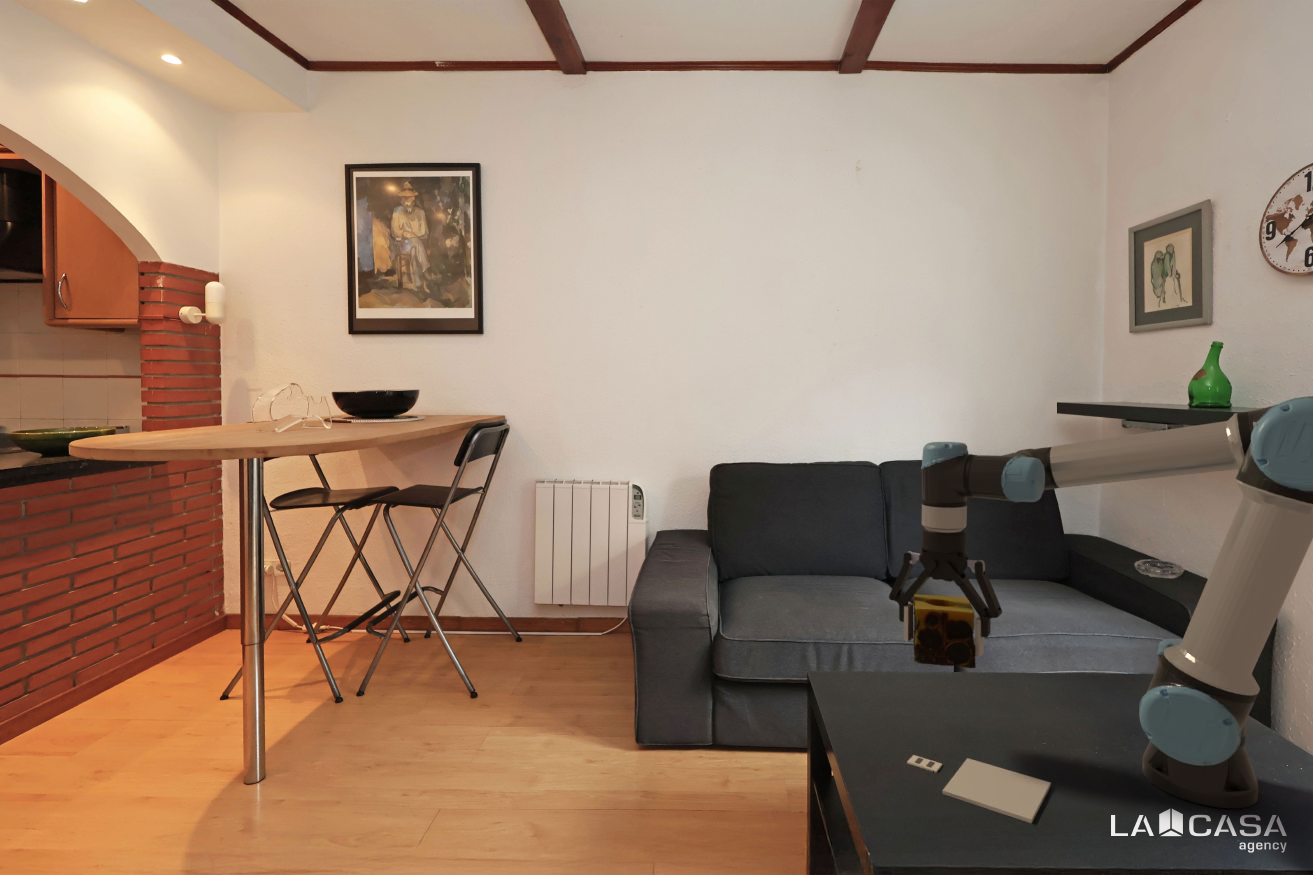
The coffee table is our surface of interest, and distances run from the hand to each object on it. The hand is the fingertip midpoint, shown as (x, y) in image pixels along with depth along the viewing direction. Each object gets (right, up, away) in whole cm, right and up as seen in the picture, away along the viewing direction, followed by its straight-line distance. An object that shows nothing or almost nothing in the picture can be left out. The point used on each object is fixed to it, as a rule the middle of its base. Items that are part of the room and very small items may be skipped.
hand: (943, 646), depth 132 cm
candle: (0, -2, 0) cm, 2 cm away
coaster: (+3, -19, -14) cm, 24 cm away
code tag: (-5, -19, -6) cm, 20 cm away
